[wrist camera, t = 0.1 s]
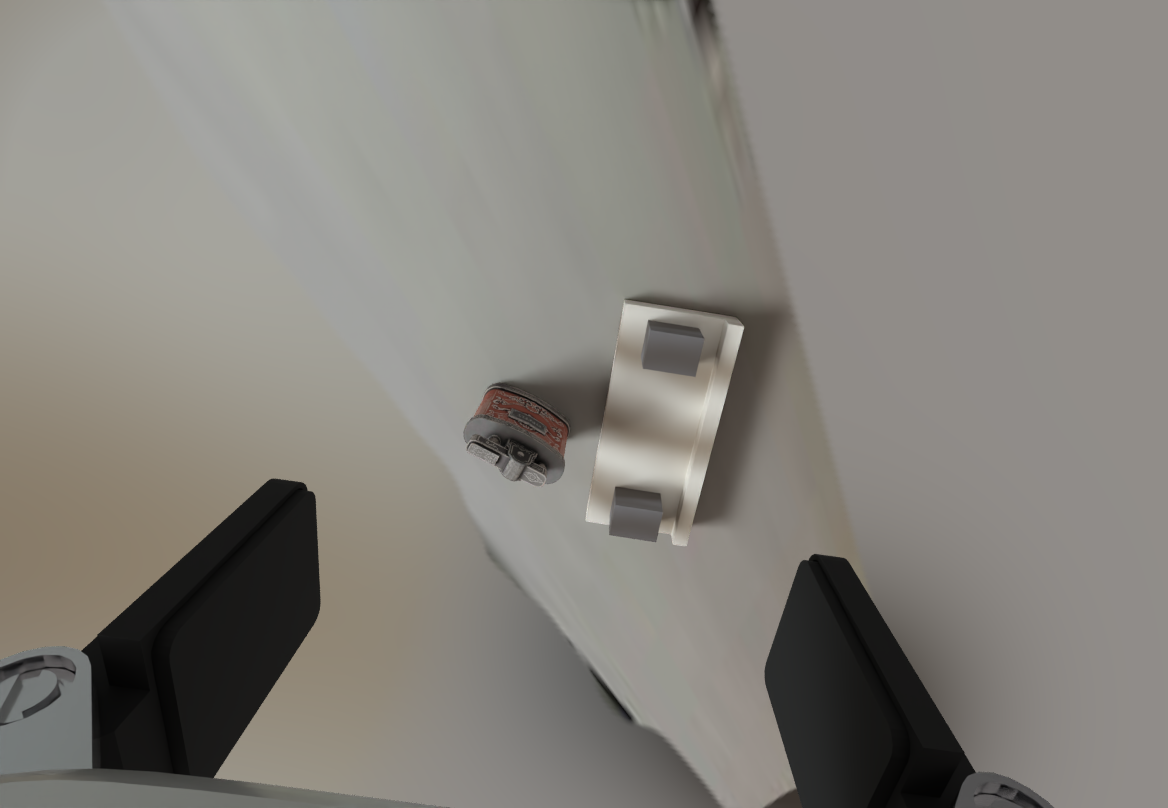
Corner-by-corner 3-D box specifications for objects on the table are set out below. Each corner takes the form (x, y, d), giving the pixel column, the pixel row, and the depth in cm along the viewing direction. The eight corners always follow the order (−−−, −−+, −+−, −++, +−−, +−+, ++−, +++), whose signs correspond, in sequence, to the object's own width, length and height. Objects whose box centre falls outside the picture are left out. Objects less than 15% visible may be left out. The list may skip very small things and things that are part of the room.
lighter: (577, 418, 50) (570, 475, 41) (559, 448, 51) (548, 511, 42) (494, 374, 49) (467, 422, 39) (477, 406, 50) (446, 460, 41)
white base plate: (624, 299, 46) (625, 312, 42) (736, 317, 46) (748, 331, 42) (586, 512, 53) (584, 541, 49) (682, 526, 54) (688, 557, 49)
